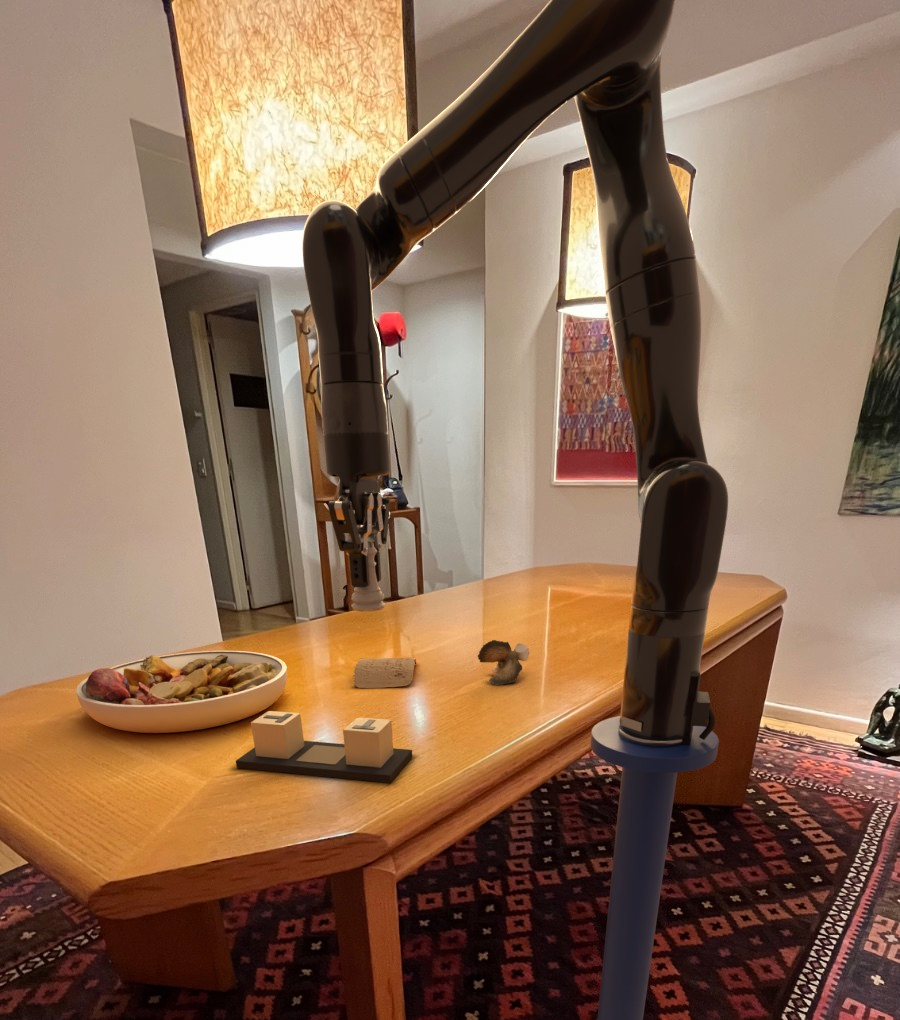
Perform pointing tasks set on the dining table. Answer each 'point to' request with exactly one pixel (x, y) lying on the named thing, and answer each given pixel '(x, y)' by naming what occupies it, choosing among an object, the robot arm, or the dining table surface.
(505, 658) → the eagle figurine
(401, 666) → the clay tablet
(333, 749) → the word mat
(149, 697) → the bowl
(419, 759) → the dining table surface
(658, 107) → the robot arm
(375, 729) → the tile
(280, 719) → the tile
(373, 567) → the rook chess piece
